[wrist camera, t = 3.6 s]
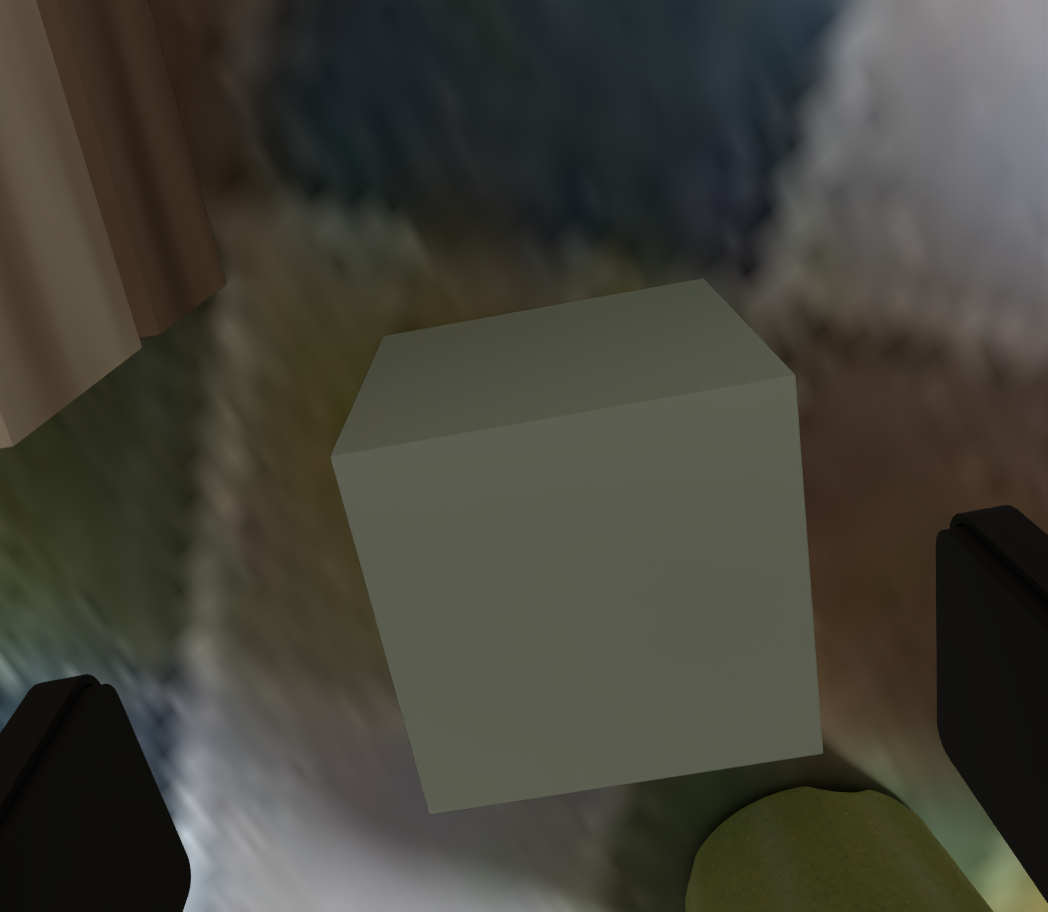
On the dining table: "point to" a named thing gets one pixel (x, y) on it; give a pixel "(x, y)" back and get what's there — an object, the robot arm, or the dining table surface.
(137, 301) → the tower base
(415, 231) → the dining table surface
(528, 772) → the green cube
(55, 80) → the tower top
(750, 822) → the plant pot
